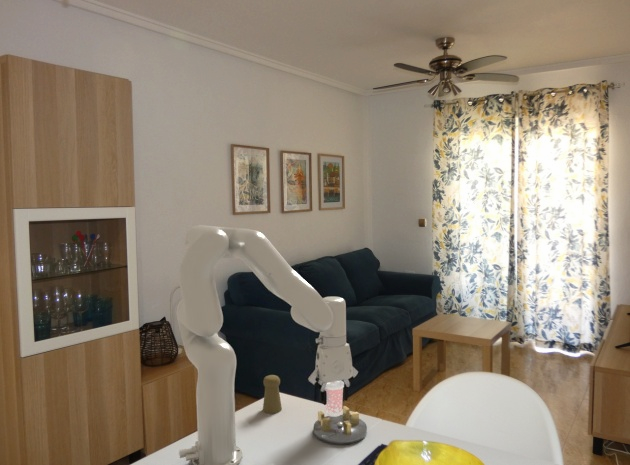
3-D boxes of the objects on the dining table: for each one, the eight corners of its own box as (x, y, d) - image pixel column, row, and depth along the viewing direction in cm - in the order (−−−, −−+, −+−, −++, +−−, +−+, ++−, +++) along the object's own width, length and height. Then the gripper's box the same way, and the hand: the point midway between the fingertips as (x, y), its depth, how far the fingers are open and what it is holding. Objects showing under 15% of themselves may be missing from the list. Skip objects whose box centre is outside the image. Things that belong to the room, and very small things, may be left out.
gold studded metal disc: (376, 438, 140) (376, 422, 140) (326, 449, 134) (326, 432, 134) (351, 416, 154) (351, 401, 154) (305, 425, 148) (305, 410, 148)
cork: (270, 416, 155) (269, 381, 154) (258, 410, 159) (258, 376, 159) (285, 410, 159) (285, 376, 158) (273, 404, 164) (273, 371, 163)
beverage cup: (342, 418, 144) (342, 370, 143) (321, 417, 145) (320, 369, 144) (345, 409, 150) (345, 363, 149) (325, 407, 151) (324, 362, 150)
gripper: (310, 348, 139) (311, 411, 141) (365, 339, 146) (366, 400, 147) (300, 340, 146) (301, 401, 147) (353, 333, 153) (354, 391, 154)
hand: (333, 400), depth 147 cm, fingers closed on beverage cup, 6 cm apart
